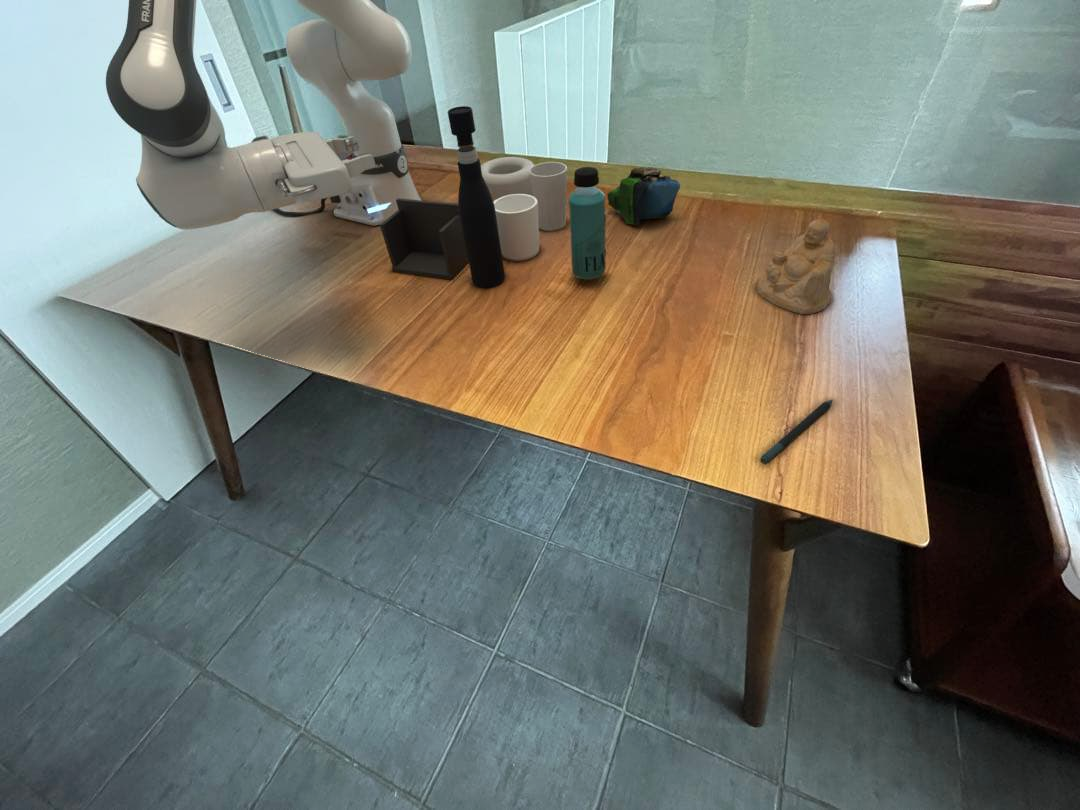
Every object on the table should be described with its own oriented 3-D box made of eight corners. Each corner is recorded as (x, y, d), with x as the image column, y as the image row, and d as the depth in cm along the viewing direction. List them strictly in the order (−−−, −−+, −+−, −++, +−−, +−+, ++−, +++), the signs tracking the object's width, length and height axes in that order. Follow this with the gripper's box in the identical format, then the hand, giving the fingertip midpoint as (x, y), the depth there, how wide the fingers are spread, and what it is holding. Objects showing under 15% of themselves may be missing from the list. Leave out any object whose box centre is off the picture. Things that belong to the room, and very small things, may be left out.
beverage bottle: (583, 290, 97) (579, 181, 83) (565, 275, 101) (559, 169, 87) (612, 280, 99) (614, 170, 85) (594, 265, 103) (592, 159, 89)
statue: (879, 231, 82) (846, 233, 77) (836, 313, 90) (804, 320, 85) (811, 208, 90) (777, 208, 85) (777, 285, 98) (744, 290, 92)
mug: (550, 248, 109) (546, 200, 102) (520, 266, 105) (514, 217, 98) (513, 235, 115) (507, 188, 108) (483, 252, 111) (475, 204, 104)
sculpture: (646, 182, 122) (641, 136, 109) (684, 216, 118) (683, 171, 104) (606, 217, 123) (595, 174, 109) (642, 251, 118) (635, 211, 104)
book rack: (392, 271, 108) (375, 215, 100) (412, 253, 113) (397, 198, 105) (452, 280, 104) (438, 222, 95) (470, 260, 109) (459, 203, 100)
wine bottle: (492, 291, 99) (463, 117, 79) (466, 283, 102) (430, 114, 81) (511, 274, 103) (488, 105, 82) (485, 268, 106) (456, 102, 85)
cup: (570, 215, 120) (568, 161, 112) (568, 231, 114) (565, 175, 106) (536, 216, 121) (531, 162, 113) (532, 232, 115) (526, 177, 107)
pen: (834, 405, 71) (837, 399, 71) (765, 466, 65) (767, 460, 64) (827, 401, 72) (829, 395, 71) (758, 461, 66) (760, 455, 65)
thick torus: (527, 207, 125) (524, 179, 120) (469, 204, 129) (464, 177, 124) (545, 182, 135) (542, 155, 131) (490, 180, 139) (486, 154, 134)
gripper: (272, 173, 67) (377, 146, 71) (253, 134, 80) (342, 113, 84) (293, 221, 71) (390, 193, 75) (271, 176, 85) (355, 154, 89)
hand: (364, 150), depth 80 cm, fingers open, 8 cm apart
